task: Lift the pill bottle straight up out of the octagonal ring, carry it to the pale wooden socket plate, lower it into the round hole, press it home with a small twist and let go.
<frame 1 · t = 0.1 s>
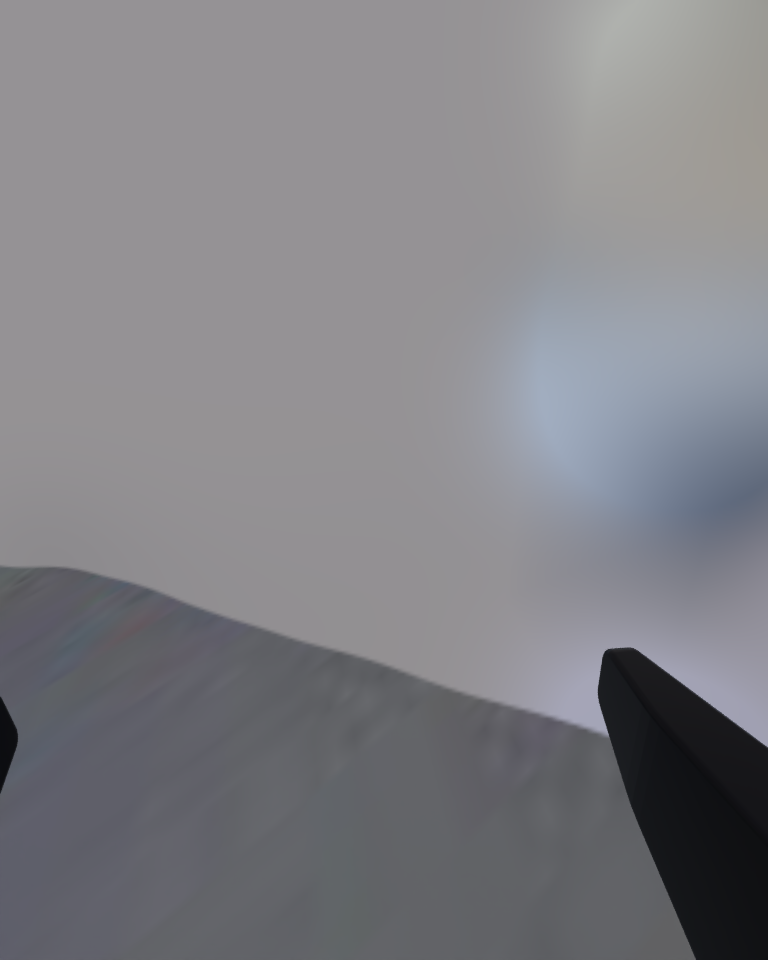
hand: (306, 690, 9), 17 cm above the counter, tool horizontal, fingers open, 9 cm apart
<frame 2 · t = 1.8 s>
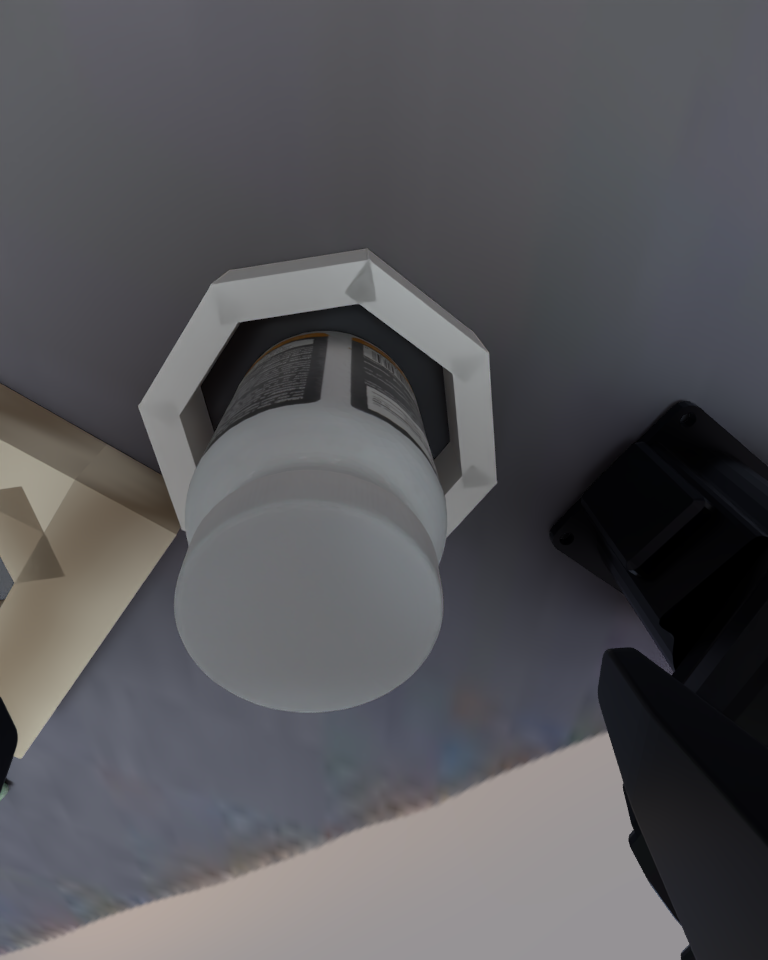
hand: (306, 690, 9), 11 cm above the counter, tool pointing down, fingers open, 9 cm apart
octagonal ring: (329, 414, 19), on the counter
pill bottle: (329, 412, 19), resting in octagonal ring
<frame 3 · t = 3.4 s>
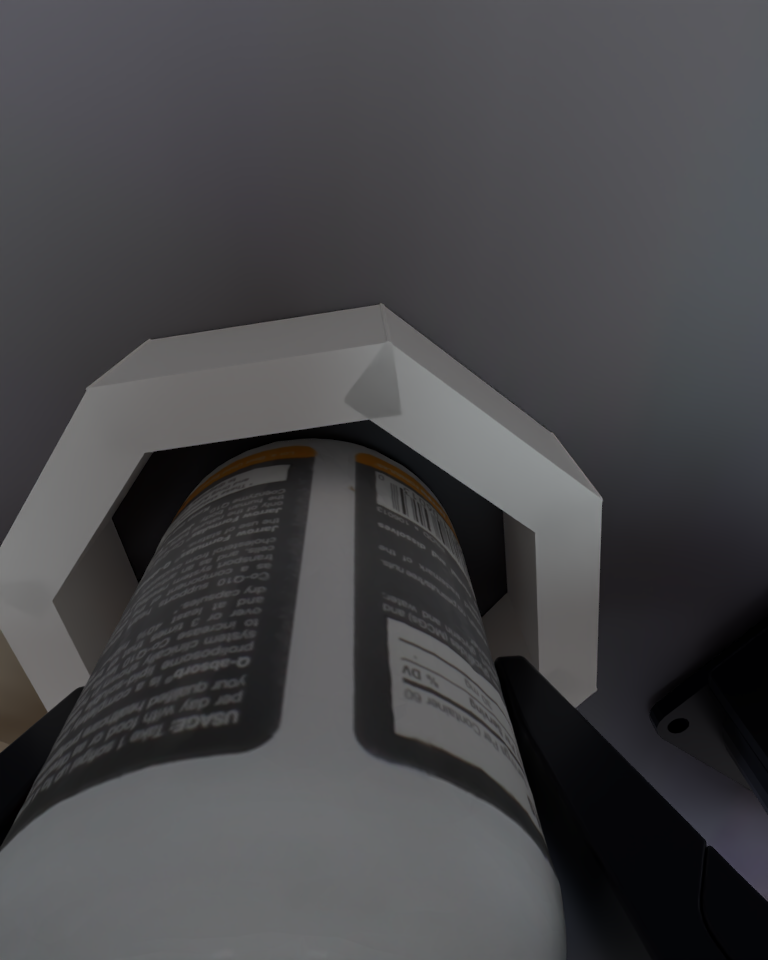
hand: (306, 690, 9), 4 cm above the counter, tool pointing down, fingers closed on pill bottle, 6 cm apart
octagonal ring: (319, 556, 12), on the counter
pill bottle: (319, 550, 12), resting in octagonal ring, touching gripper
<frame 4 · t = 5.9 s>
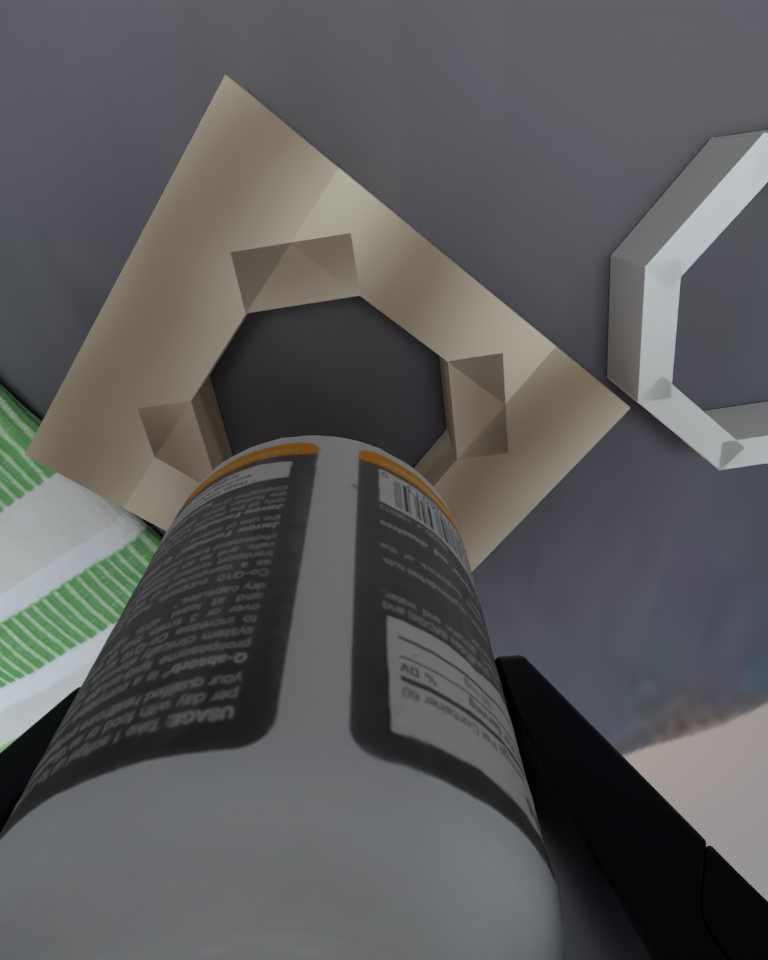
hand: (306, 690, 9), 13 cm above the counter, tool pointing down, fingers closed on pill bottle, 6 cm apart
socket plate: (331, 403, 20), on the counter
octagonal ring: (755, 296, 19), on the counter
pill bottle: (323, 548, 12), point 9 cm above the counter, touching gripper
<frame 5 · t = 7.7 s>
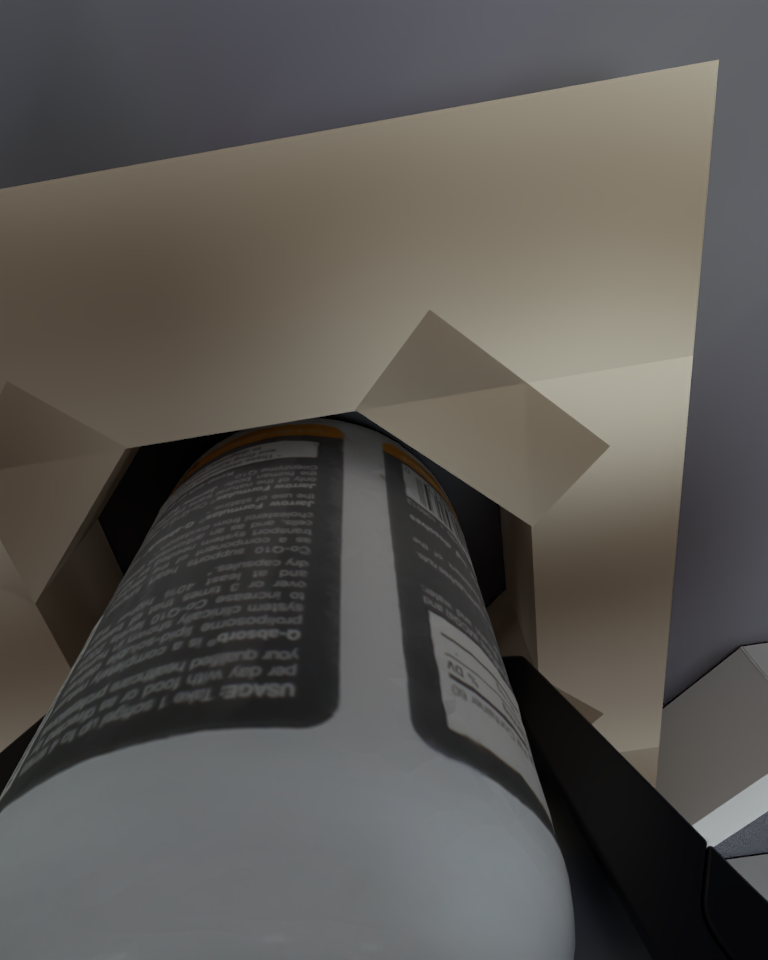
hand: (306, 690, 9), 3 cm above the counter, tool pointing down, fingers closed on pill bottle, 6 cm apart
socket plate: (312, 555, 12), on the counter
pill bottle: (317, 535, 12), resting in socket plate, touching gripper
when the fingers open (3 cm above the counter, at t = 8.7 s): pill bottle stays where it is, resting in socket plate.
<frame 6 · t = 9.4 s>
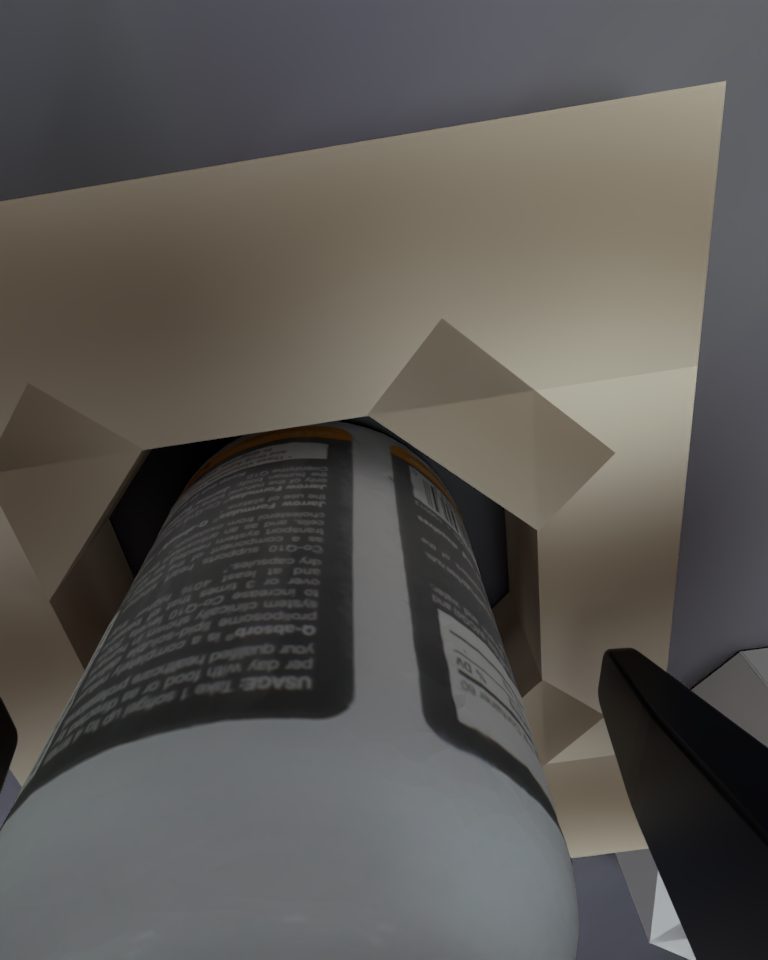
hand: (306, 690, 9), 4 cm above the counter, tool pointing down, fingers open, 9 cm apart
socket plate: (319, 556, 12), on the counter
pill bottle: (323, 536, 12), resting in socket plate
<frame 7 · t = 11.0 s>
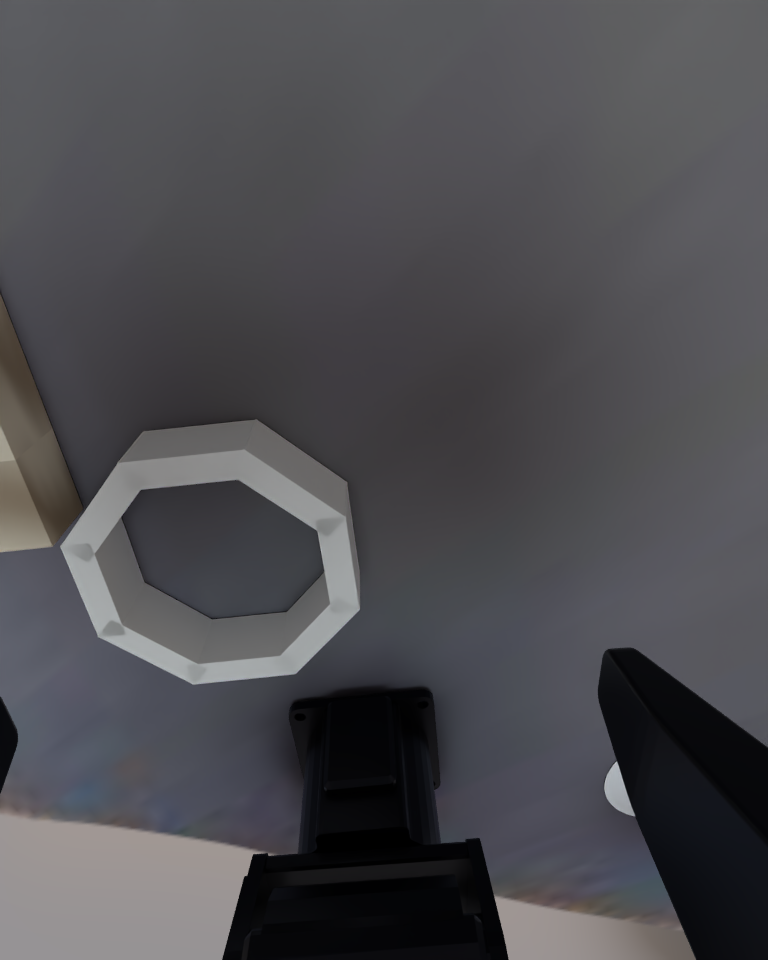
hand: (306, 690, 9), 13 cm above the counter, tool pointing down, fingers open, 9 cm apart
champagne flute: (667, 774, 31), on the counter
octagonal ring: (229, 539, 23), on the counter
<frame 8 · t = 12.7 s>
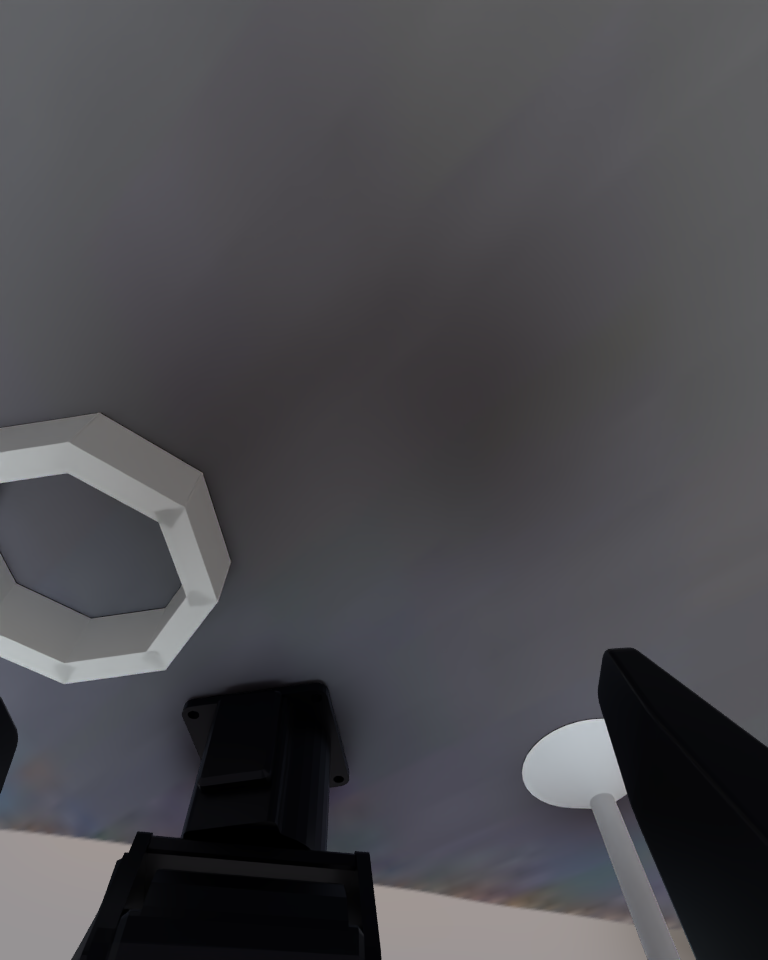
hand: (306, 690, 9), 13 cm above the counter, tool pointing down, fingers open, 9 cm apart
champagne flute: (586, 762, 30), on the counter
octagonal ring: (94, 536, 23), on the counter
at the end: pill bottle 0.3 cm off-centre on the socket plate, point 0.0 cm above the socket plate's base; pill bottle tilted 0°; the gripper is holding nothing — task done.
